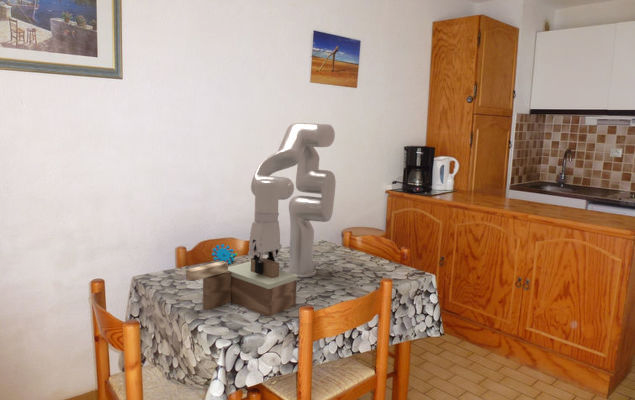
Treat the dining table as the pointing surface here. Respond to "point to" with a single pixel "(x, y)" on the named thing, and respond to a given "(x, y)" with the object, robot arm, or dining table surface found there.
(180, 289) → the dining table surface
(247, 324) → the dining table surface
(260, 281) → the lid
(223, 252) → the blue spiky virus toy
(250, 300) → the brown wooden box
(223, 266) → the bar
